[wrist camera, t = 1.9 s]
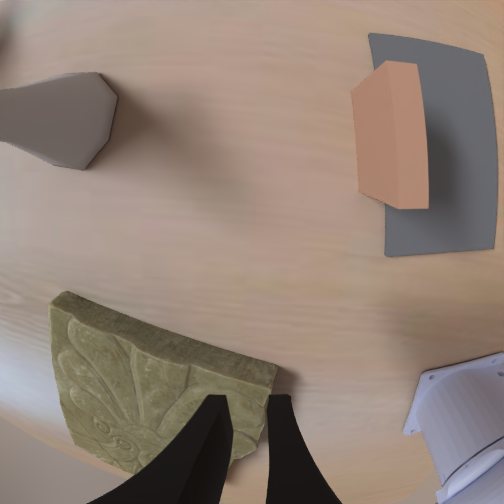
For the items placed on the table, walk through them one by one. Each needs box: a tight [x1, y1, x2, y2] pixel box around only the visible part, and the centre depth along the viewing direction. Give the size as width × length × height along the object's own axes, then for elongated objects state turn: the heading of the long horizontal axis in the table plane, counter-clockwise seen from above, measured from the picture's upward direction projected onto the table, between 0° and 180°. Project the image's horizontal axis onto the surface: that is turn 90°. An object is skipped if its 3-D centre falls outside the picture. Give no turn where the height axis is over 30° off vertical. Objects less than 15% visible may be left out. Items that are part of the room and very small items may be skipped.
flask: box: [0, 72, 118, 170], centre depth 12 cm, size 7×7×10 cm
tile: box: [351, 60, 429, 209], centre depth 13 cm, size 2×6×6 cm, turn 5°
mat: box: [368, 33, 498, 257], centre depth 15 cm, size 9×14×1 cm, turn 5°
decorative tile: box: [48, 291, 278, 475], centre depth 23 cm, size 19×20×4 cm
